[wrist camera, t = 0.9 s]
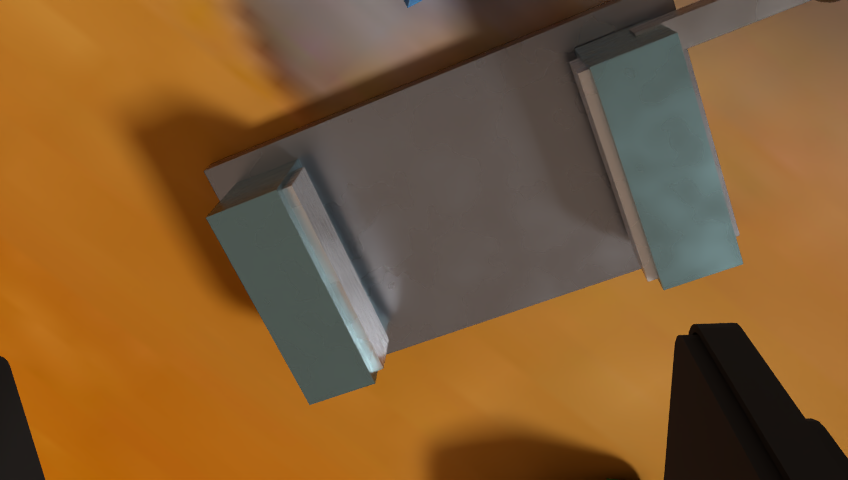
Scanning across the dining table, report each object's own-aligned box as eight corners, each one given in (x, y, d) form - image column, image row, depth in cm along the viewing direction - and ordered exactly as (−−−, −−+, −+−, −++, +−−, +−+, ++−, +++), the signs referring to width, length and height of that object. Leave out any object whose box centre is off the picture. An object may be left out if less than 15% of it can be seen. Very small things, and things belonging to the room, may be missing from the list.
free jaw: (839, -76, 27) (898, -75, 24) (887, 163, 30) (945, 197, 27) (559, 38, 29) (573, 55, 26) (632, 251, 32) (653, 293, 29)
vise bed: (661, -21, 29) (698, -10, 25) (731, 226, 33) (775, 276, 28) (210, 164, 33) (169, 203, 29) (319, 366, 37) (299, 430, 32)
